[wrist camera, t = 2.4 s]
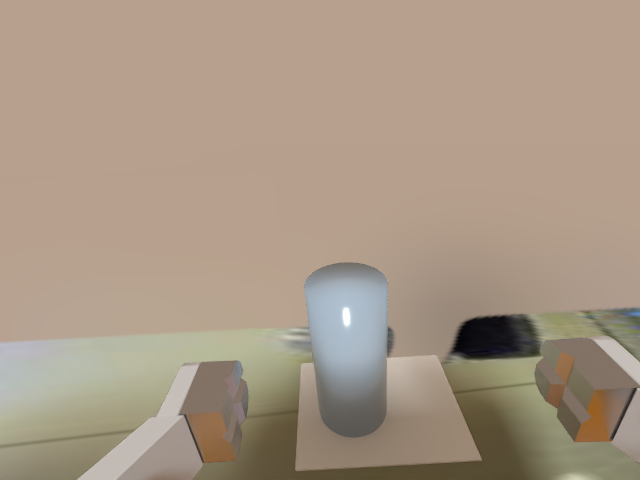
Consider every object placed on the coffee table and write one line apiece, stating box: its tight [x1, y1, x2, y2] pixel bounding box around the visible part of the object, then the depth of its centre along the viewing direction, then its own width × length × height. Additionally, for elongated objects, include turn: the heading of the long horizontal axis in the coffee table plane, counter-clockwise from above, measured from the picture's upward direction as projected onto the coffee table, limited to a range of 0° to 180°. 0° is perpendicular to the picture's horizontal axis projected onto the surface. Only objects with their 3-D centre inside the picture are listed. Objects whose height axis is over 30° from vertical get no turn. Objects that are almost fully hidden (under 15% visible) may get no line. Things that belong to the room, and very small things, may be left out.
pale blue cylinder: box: [304, 263, 388, 437], centre depth 25 cm, size 6×6×12 cm
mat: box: [295, 355, 482, 471], centre depth 28 cm, size 13×10×1 cm
